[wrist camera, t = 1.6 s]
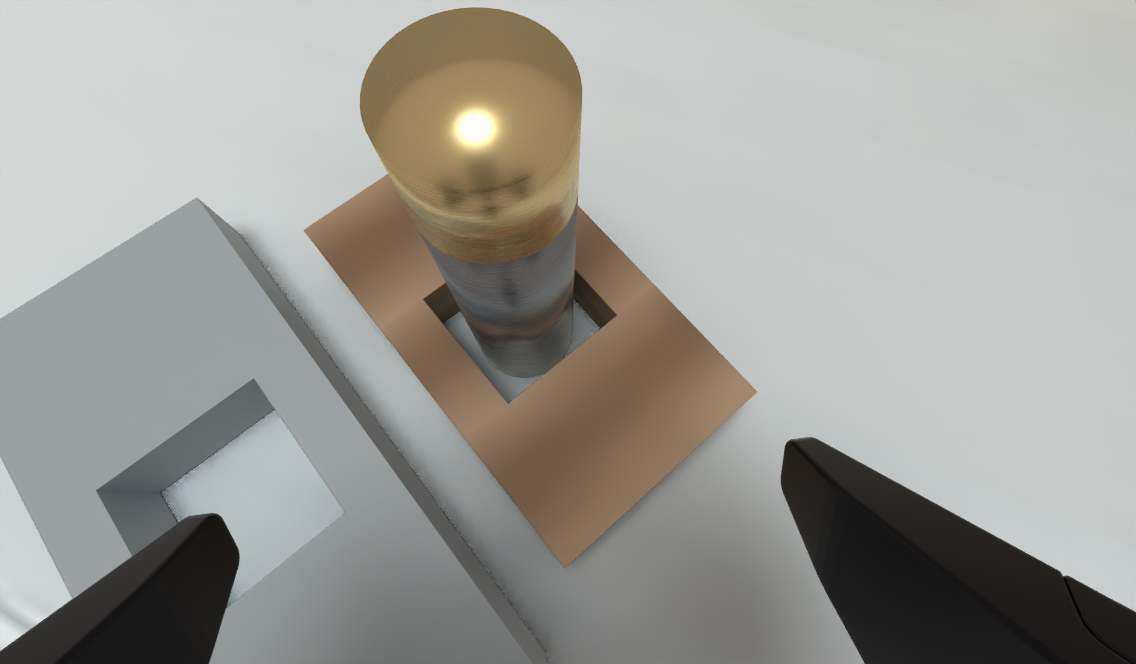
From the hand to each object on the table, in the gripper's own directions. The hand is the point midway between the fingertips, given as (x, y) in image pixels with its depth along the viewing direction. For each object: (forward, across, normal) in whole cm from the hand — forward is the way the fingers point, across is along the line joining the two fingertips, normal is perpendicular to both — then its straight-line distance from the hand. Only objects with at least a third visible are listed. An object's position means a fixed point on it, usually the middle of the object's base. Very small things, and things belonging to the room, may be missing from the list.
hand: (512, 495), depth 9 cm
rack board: (+10, +11, +8) cm, 17 cm away
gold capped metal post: (+14, 0, +4) cm, 15 cm away
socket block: (+14, 0, +4) cm, 15 cm away
